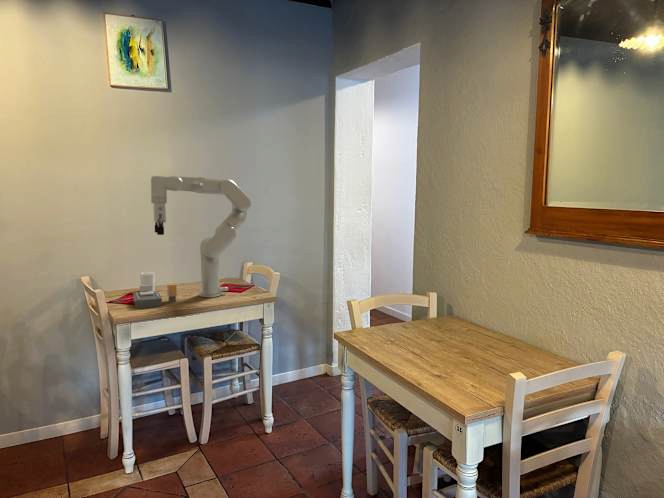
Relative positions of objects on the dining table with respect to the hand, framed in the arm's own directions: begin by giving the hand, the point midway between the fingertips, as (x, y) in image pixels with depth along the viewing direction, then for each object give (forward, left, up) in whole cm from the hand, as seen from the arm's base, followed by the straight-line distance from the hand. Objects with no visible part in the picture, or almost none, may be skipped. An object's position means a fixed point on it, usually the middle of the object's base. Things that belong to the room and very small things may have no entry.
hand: (159, 233), depth 248 cm
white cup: (+4, -21, -35) cm, 41 cm away
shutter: (+7, +4, -30) cm, 32 cm away
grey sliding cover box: (+7, +7, -35) cm, 36 cm away
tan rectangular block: (-5, +7, -35) cm, 36 cm away
